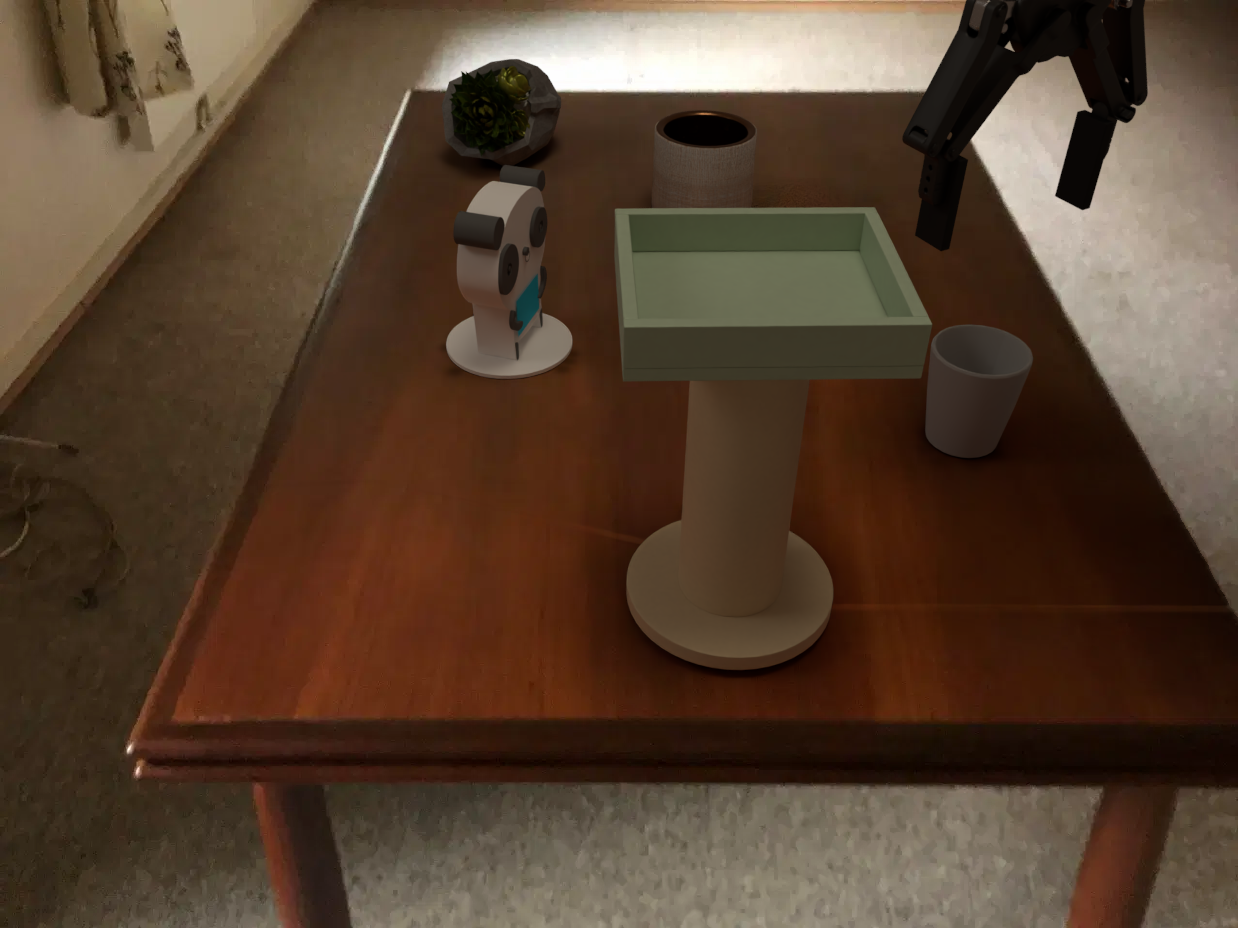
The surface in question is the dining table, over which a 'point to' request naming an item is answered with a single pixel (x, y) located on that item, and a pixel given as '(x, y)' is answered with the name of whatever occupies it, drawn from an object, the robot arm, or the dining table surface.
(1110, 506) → the dining table surface
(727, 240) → the tray
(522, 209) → the panda figurine
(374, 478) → the dining table surface
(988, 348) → the cup
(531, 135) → the potted plant
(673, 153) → the planter
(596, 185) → the dining table surface
